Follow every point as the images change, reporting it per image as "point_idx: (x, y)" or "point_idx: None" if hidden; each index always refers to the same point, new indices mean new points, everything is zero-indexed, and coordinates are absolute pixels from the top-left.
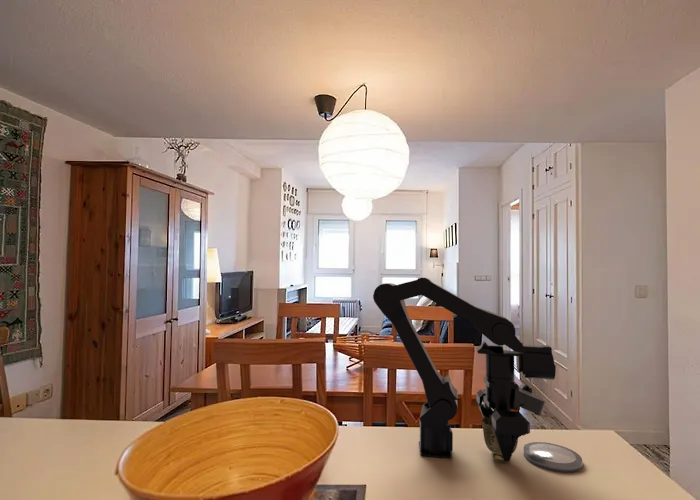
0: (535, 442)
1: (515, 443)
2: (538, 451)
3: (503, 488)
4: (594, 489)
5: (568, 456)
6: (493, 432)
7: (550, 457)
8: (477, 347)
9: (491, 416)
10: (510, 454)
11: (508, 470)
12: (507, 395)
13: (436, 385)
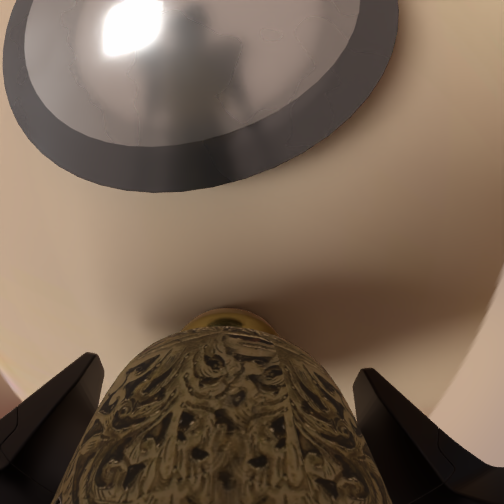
0: (6, 70)
1: (343, 406)
2: (147, 72)
3: (442, 364)
4: (494, 18)
5: None
6: None
7: (264, 13)
8: None
9: (46, 497)
10: (399, 399)
11: (345, 333)
12: None
13: None
